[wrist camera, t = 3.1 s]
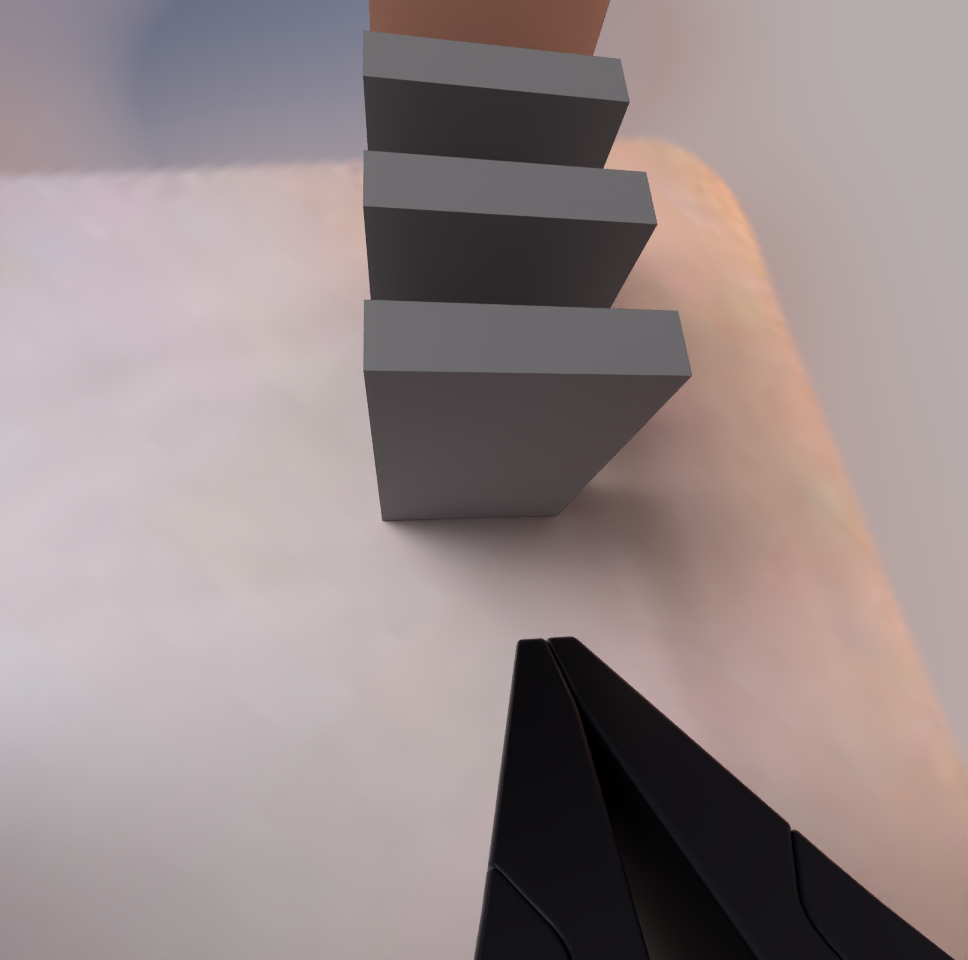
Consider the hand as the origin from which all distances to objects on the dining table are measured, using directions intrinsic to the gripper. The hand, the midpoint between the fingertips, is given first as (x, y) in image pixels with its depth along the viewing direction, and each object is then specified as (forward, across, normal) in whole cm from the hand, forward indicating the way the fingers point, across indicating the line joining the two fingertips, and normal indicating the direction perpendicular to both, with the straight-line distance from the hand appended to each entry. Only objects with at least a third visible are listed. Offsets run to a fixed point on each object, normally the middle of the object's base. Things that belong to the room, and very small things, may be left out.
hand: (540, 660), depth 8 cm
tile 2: (+10, 0, -1) cm, 10 cm away
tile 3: (+12, 0, -3) cm, 13 cm away
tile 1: (+8, 0, +2) cm, 8 cm away
